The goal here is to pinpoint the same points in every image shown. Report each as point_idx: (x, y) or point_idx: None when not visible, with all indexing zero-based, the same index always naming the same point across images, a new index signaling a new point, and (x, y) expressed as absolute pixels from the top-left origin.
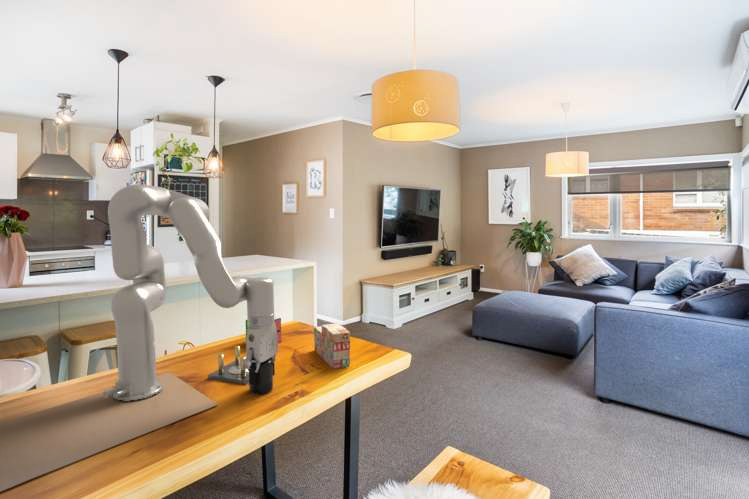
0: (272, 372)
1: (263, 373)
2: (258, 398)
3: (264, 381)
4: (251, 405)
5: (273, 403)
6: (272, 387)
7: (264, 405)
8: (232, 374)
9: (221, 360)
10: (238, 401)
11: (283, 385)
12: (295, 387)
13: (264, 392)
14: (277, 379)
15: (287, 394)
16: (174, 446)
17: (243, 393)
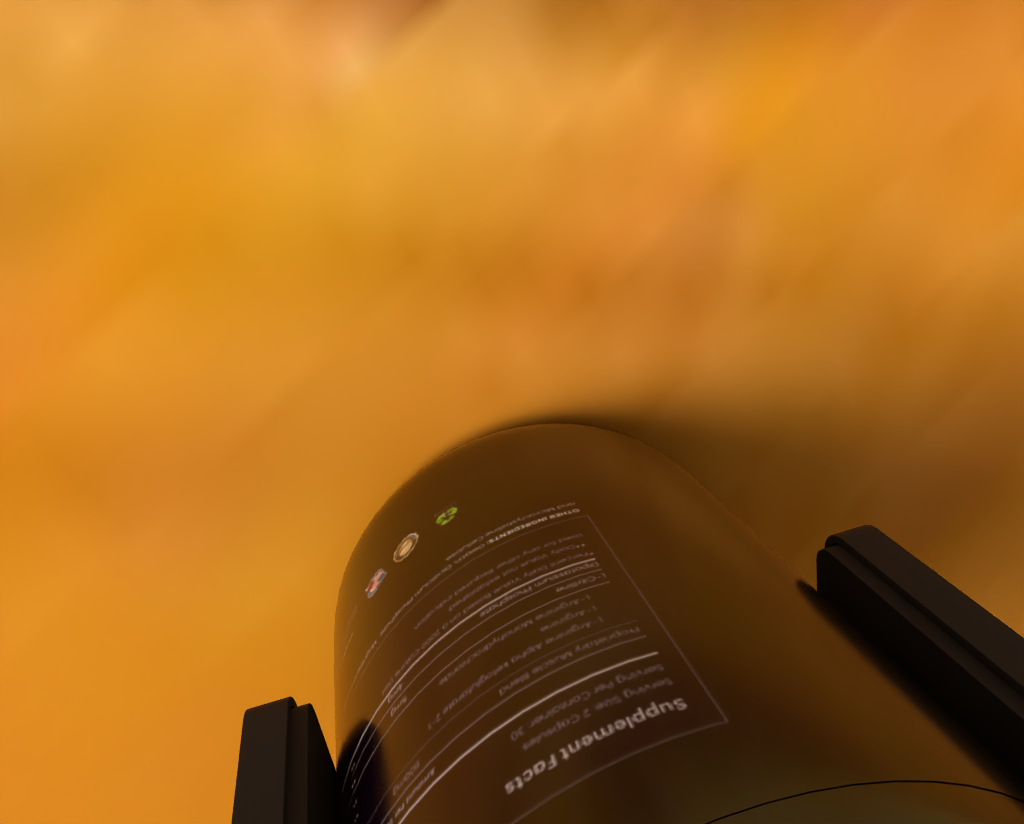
0: (518, 657)
1: (902, 679)
2: (785, 396)
3: (747, 543)
4: (1007, 301)
5: (852, 19)
6: (442, 467)
7: (958, 114)
8: None
9: None
10: (950, 545)
11: (132, 441)
12: (19, 137)
13: (645, 443)
14: (4, 733)
15: (419, 44)
16: None
17: None
